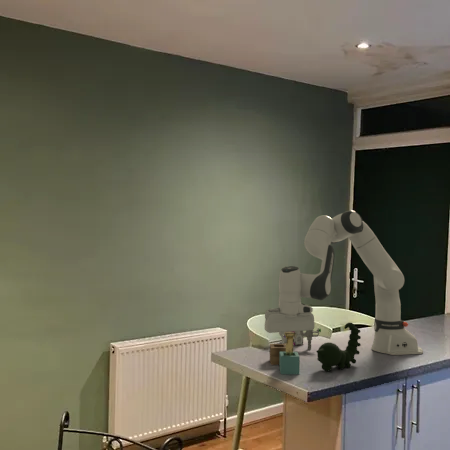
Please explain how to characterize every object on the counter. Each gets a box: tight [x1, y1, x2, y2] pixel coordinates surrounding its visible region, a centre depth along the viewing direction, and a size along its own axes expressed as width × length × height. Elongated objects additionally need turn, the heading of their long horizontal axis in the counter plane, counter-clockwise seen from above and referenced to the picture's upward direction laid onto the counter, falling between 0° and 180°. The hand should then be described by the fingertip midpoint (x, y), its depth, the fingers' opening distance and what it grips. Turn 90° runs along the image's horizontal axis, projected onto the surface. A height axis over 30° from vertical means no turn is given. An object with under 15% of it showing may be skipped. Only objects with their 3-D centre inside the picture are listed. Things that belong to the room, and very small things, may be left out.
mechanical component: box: [300, 327, 322, 351], centre depth 248 cm, size 3×10×10 cm, turn 78°
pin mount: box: [269, 343, 286, 366], centre depth 226 cm, size 7×7×7 cm
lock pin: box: [283, 332, 295, 356], centre depth 213 cm, size 4×4×13 cm
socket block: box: [278, 351, 301, 375], centre depth 213 cm, size 7×7×7 cm
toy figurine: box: [315, 322, 362, 372], centre depth 218 cm, size 9×19×25 cm
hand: (289, 342), depth 213 cm, fingers closed on lock pin, 3 cm apart
